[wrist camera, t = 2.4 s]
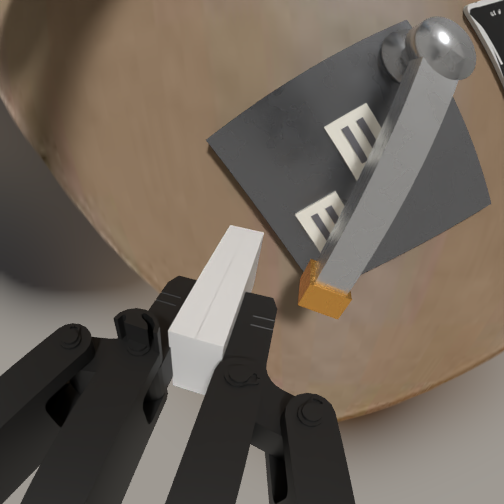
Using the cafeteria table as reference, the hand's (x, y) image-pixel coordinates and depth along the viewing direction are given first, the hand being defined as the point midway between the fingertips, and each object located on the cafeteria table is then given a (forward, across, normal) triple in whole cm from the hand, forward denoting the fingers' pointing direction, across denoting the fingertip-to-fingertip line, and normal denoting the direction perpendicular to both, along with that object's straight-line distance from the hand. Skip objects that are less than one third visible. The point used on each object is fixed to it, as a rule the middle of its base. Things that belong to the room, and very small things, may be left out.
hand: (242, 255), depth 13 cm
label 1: (+12, +6, -3) cm, 14 cm away
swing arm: (+8, +7, +4) cm, 11 cm away
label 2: (+12, +6, +5) cm, 15 cm away
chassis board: (+14, +7, +3) cm, 16 cm away
